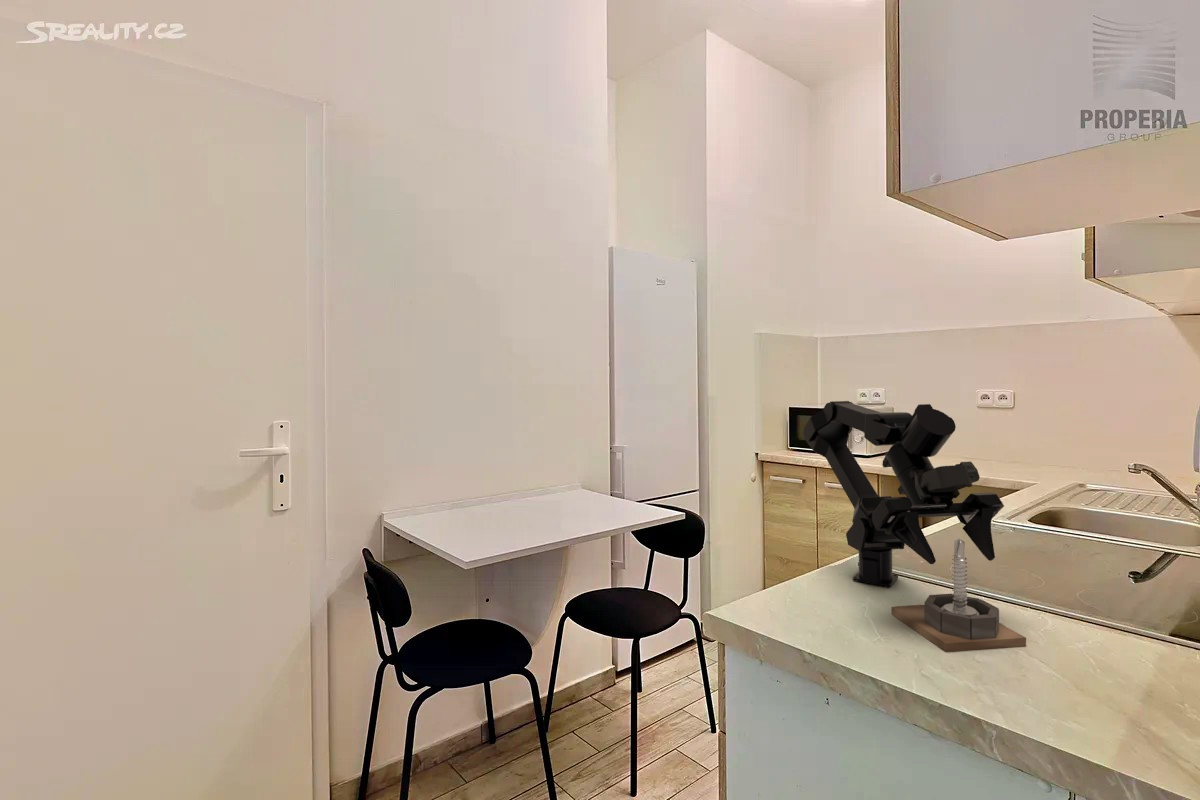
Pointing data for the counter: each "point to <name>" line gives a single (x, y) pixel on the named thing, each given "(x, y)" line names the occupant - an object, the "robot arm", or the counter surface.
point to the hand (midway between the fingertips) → (963, 561)
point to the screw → (960, 583)
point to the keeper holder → (958, 625)
